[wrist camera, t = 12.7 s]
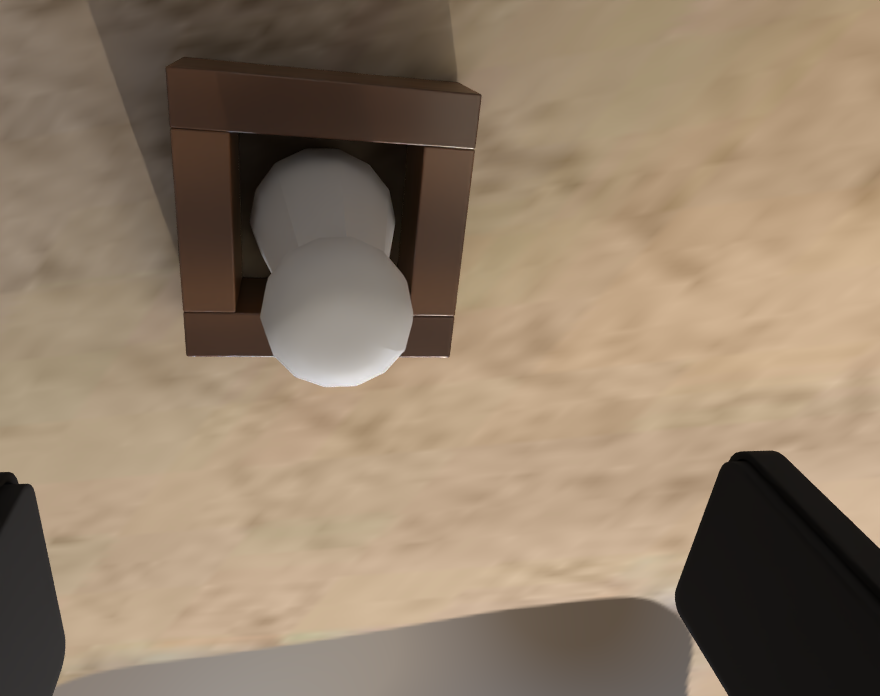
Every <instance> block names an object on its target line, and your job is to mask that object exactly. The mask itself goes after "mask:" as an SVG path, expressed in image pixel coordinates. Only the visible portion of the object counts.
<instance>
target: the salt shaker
mask: <svg viewBox="0 0 880 696" xmlns="http://www.w3.org/2000/svg"><path fill="white" fill-rule="evenodd" d="M249 222H250V225H251V228H252V230H253V233H254V236H255V239H256V242H257V245H258V248H259V251H260V253H261V255H262V257H263V258H264V260H265V262H266V264H267V266H268V268H269V269H270V271H271V275H270V276H269V277H268V281H267V284H266V289H265V294H264V299H263V304H262V309H261V314H260V318H261V321H262V325H263V327H264V330H265V333H266V336H267V339H268V342H269V345H270V347H271V350H272V353H273V356H275V357H276V358H277V359H278V360H279V361H280V362H281V363H282V364H283V365H284V366H285V367H286V368H287V369H288V370H289V371H290V372H291V373H292V374H293V375H294V376H295V377H297V378H300V379H303V380H306V381H308V382H311V383H314V384H317V385H320V386H323V387H341V386H357V385H359V384H362V383H364V382H366V381H368V380H370V379H372V378H374V377H376V376H378V375H380V374H382V373H384V372H386V370H387V369H388V368H389V367H390V366H391V365H392V364H393V363H394V362H395V361H396V359H397V358H398V357H399V356H400V355H401V354H402V353H403V352H404V351H405V348H406V345H407V341H408V337H409V334H410V330H411V326H412V322H413V309H412V304H411V299H410V294H409V289H408V284H407V281H406V279H405V277H404V275H403V274H402V273H401V272H400V270H399V269H398V268H397V267H396V266H395V264H394V263H393V262H392V261H391V260H390V259H389V256H390V250H391V244H392V239H393V233H394V228H395V222H396V220H395V215H394V210H393V205H392V201H391V196H390V191H389V189H388V188H387V187H386V185H385V184H384V183H383V182H382V180H381V179H380V178H379V176H378V175H377V174H376V173H375V171H374V170H373V169H372V167H371V166H370V165H369V164H367V163H366V162H364V161H362V160H360V159H358V158H356V157H354V156H352V155H350V154H348V153H346V152H344V151H342V150H340V149H308V148H306V149H304V150H302V151H300V152H297V153H295V154H293V155H291V156H289V157H287V158H284V159H282V160H280V161H278V162H276V163H275V164H274V165H273V166H272V168H271V169H270V170H269V172H268V173H267V175H266V176H265V177H264V179H263V180H262V181H261V183H260V184H259V186H258V187H257V188H256V190H255V195H254V200H253V205H252V211H251V216H250V221H249Z"/></svg>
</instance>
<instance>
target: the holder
mask: <svg viewBox="0 0 880 696" xmlns="http://www.w3.org/2000/svg"><path fill="white" fill-rule="evenodd" d="M166 80H167V94H168V108H169V122H170V127H171V129H170V135H171V149H172V163H173V177H174V191H175V205H176V219H177V233H178V247H179V261H180V275H181V288H182V302H183V311H184V313H183V315H184V329H185V343H186V355H187V356H200V357H275V356H273V353H272V350H271V347H270V345H269V342H268V339H267V336H266V333H265V330H264V327H263V325H262V321H261V318H260V314H261V309H262V304H263V299H264V294H265V289H266V284H267V281H268V278H242V242H241V207H240V173H239V138H238V133H252V134H266V135H280V136H294V137H308V138H322V139H336V140H350V141H364V142H378V143H392V144H407V157H406V170H405V183H404V195H403V208H402V221H401V233H400V246H399V259H398V269H399V270H400V272H401V273H402V274H403V275H404V277H405V279H406V281H407V284H408V289H409V294H410V299H411V304H412V309H413V322H412V326H411V330H410V334H409V337H408V341H407V345H406V348H405V351H404V352H403V353H402V354H401V355H400V356H399V357H449V356H450V349H451V341H452V333H453V325H454V315H455V309H456V301H457V292H458V284H459V276H460V268H461V260H462V251H463V243H464V235H465V227H466V219H467V210H468V202H469V194H470V186H471V178H472V170H473V161H474V153H475V151H474V149H475V146H476V137H477V129H478V121H479V113H480V105H481V94H479V93H477V92H475V91H473V90H471V89H470V88H468V87H466V86H464V85H462V84H460V83H458V82H448V81H437V80H426V79H415V78H405V77H394V76H383V75H372V74H361V73H351V72H340V71H329V70H318V69H307V68H297V67H286V66H275V65H264V64H253V63H243V62H232V61H221V60H210V59H199V58H188V57H183V58H181V59H179V60H177V61H176V62H174V63H172V64H170V65H168V66H166Z"/></svg>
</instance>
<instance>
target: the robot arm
mask: <svg viewBox="0 0 880 696" xmlns="http://www.w3.org/2000/svg"><path fill="white" fill-rule="evenodd" d="M675 602H676V607H677V610H678V613H679V615H680V617H681V618H682V620H683V622H684V623H685V625H686V627H687V628H688V630H689V632H690V633H691V635H692V636H693V638H694V640H695V641H696V643H697V645H698V646H699V648H700V650H701V651H702V653H703V655H704V656H705V658H706V659H707V661H708V663H709V664H710V666H711V668H712V669H713V671H714V673H715V674H716V676H717V678H718V679H719V681H720V682H721V684H722V686H723V687H724V689H725V691H726V692H727V694H728V696H880V548H878V547H877V546H876V545H875V544H874V543H873V542H872V541H871V540H870V539H869V538H868V537H867V536H866V535H865V534H864V533H863V532H862V531H861V530H860V529H859V528H858V527H857V526H856V525H855V524H854V523H853V522H852V521H851V520H850V519H849V518H848V517H846V516H845V515H844V514H843V513H842V512H841V511H840V510H839V509H838V508H837V507H836V506H835V505H834V504H833V503H832V502H831V501H830V500H829V499H828V498H827V497H826V496H825V495H824V494H823V493H822V492H821V491H820V490H819V489H818V488H817V487H815V486H814V485H813V484H812V483H811V482H810V481H809V480H808V479H807V478H806V477H805V476H804V475H803V474H802V473H801V472H800V471H799V470H798V469H797V468H796V467H795V466H794V465H793V464H792V463H791V462H790V461H789V460H788V459H787V458H786V457H785V456H783V455H782V454H780V453H779V452H776V451H743V452H737V453H735V454H734V455H733V456H732V457H731V458H730V460H729V462H726V463H725V464H724V465H722V467H721V469H720V471H719V474H718V477H717V479H716V482H715V485H714V487H713V490H712V493H711V496H710V498H709V501H708V504H707V506H706V509H705V512H704V515H703V517H702V520H701V523H700V525H699V528H698V531H697V534H696V536H695V539H694V542H693V544H692V547H691V550H690V552H689V555H688V558H687V561H686V563H685V566H684V569H683V571H682V574H681V577H680V580H679V582H678V585H677V588H676V592H675ZM64 655H65V634H64V629H63V625H62V620H61V615H60V610H59V605H58V601H57V596H56V591H55V586H54V582H53V577H52V572H51V567H50V563H49V558H48V553H47V548H46V544H45V539H44V534H43V529H42V524H41V520H40V515H39V510H38V505H37V501H36V496H35V492H34V489H33V487H32V486H31V485H30V484H18V481H17V478H16V477H15V475H14V474H13V473H10V472H0V696H52V695H53V692H54V690H55V687H56V684H57V681H58V678H59V675H60V672H61V669H62V665H63V661H64Z"/></svg>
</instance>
